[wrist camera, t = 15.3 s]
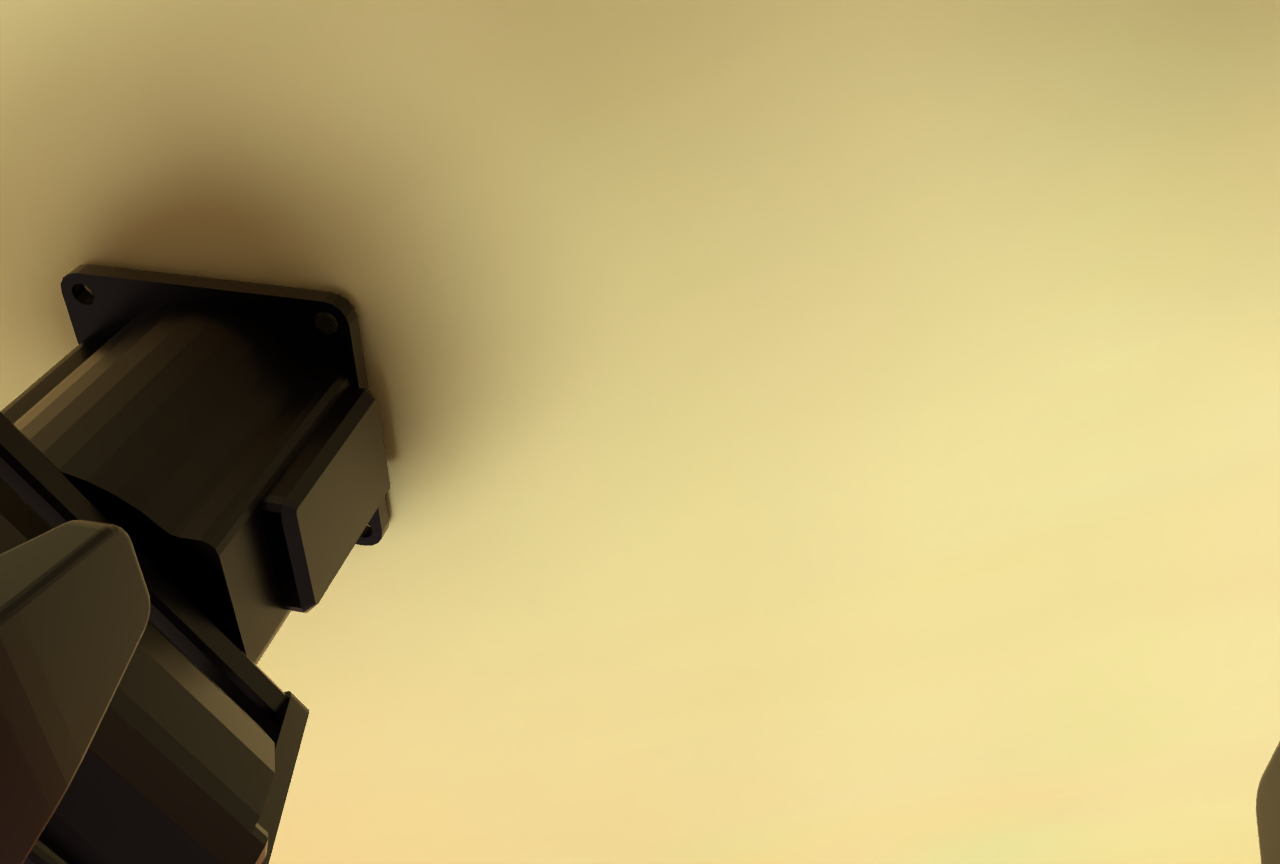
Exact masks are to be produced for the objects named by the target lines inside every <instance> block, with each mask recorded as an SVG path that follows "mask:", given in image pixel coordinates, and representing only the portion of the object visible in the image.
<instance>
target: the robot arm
mask: <svg viewBox="0 0 1280 864" xmlns="http://www.w3.org/2000/svg"><path fill="white" fill-rule="evenodd" d="M84 285H86V286H87V287H88V288H89V289H90V290H91V291H92V293H93V294H91V293H90V292H88V291H87V290H86V288H85V287H84ZM61 289H62V294H63V297H64V300H65V303H66V306H67V309H68V313H69V316H70V319H71V322H72V325H73V328H74V331H75V334H76V337H77V340H78V344H79V345H78V346H77V347H76V348H75V349H74V350H72V351H71V352H70V353H69V354H68V355H66V356H65V357H64V358H63V359H62V360H61V361H59V362H58V363H57V364H56V365H55V366H54V367H52V368H51V369H50V370H49V371H48V372H47V373H45V374H44V375H43V376H42V377H41V378H39V379H38V380H37V381H36V382H35V383H34V384H32V385H31V386H30V387H29V388H28V389H27V390H25V391H24V392H23V393H22V394H21V395H20V396H18V397H17V398H16V399H15V400H14V401H12V402H11V403H10V404H9V405H8V406H7V407H5V408H4V409H3V410H2V411H1V412H0V864H269V860H270V856H271V853H272V849H273V845H274V841H275V838H276V834H277V830H278V826H279V823H280V819H281V815H282V811H283V808H284V804H285V800H286V797H287V793H288V789H289V785H290V782H291V778H292V774H293V770H294V767H295V763H296V759H297V756H298V752H299V748H300V744H301V741H302V737H303V733H304V729H305V726H306V722H307V718H308V714H309V710H308V709H307V708H306V707H305V706H304V705H303V704H302V703H301V702H300V701H299V700H298V699H297V698H296V697H295V696H294V695H293V694H292V693H291V692H290V691H288V692H283V691H282V690H281V689H280V688H279V687H278V686H277V685H276V684H275V683H274V682H273V681H272V680H271V679H270V678H269V677H268V676H267V675H266V674H265V673H264V672H263V671H262V670H261V669H260V668H259V667H258V666H257V665H256V664H257V663H258V661H259V660H260V658H261V657H262V655H263V654H264V652H265V651H266V649H267V647H268V646H269V644H270V643H271V641H272V640H273V638H274V637H275V635H276V633H277V632H278V630H279V629H280V627H281V626H282V624H283V623H284V621H285V619H286V618H287V616H288V615H289V613H290V612H291V610H292V611H298V612H305V613H307V612H308V611H310V610H311V609H312V608H313V607H314V606H316V605H317V604H318V603H319V601H320V600H321V598H322V597H323V595H324V593H325V592H326V590H327V588H328V587H329V585H330V584H331V582H332V580H333V579H334V577H335V576H336V574H337V572H338V571H339V569H340V568H341V566H342V564H343V563H344V561H345V560H346V558H347V556H348V555H349V553H350V552H351V550H352V548H353V547H354V545H355V544H359V545H374V544H377V543H378V542H379V541H380V540H381V538H382V537H383V535H384V534H385V532H386V530H387V529H388V525H389V519H388V513H387V506H386V500H385V495H386V494H387V492H388V490H389V488H390V482H389V475H388V468H387V462H386V455H385V449H384V442H383V435H382V429H381V422H380V415H379V409H378V402H377V399H376V398H375V396H374V395H373V393H372V392H371V390H370V389H368V383H367V377H366V370H365V364H364V357H363V351H362V345H361V338H360V332H359V325H358V319H357V314H356V312H355V309H354V307H353V306H352V305H351V303H350V302H349V301H348V300H347V299H345V298H344V297H342V296H341V295H339V294H336V293H332V292H326V291H317V290H308V289H299V288H290V287H282V286H273V285H264V284H255V283H246V282H237V281H229V280H220V279H211V278H202V277H193V276H185V275H176V274H167V273H158V272H149V271H140V270H132V269H123V268H114V267H105V266H96V265H80V266H78V267H77V268H75V269H74V270H73V271H71V272H70V273H69V274H67V275H66V276H65V277H63V280H62V282H61ZM323 312H326V313H329V314H331V315H332V316H333V317H334V318H335V319H336V321H337V323H338V324H334V323H331V322H329V321H328V320H327V319H326V318H325V316H324V314H323ZM367 524H368V525H370V527H369V526H367ZM1256 816H1257V826H1258V835H1259V845H1260V855H1261V864H1280V742H1279V744H1278V746H1277V748H1276V750H1275V752H1274V754H1273V756H1272V758H1271V760H1270V762H1269V764H1268V765H1267V767H1266V769H1265V771H1264V773H1263V775H1262V778H1261V780H1260V783H1259V787H1258V791H1257V798H1256Z"/></svg>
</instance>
